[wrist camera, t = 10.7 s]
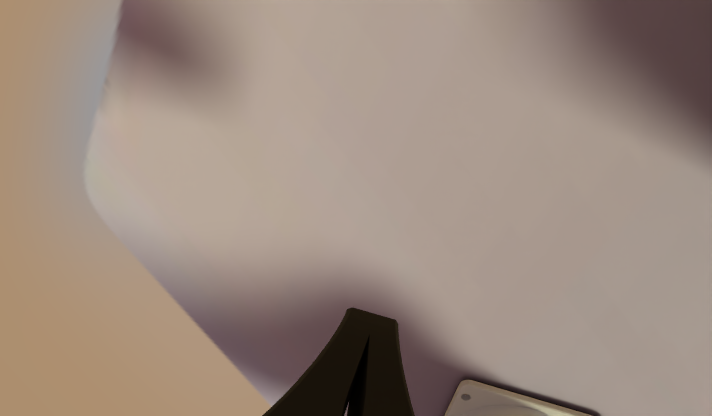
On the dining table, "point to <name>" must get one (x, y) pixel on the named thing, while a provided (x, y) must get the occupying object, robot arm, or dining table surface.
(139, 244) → the dining table surface
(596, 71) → the dining table surface
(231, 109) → the dining table surface
